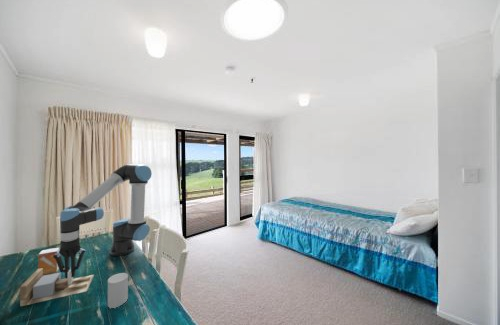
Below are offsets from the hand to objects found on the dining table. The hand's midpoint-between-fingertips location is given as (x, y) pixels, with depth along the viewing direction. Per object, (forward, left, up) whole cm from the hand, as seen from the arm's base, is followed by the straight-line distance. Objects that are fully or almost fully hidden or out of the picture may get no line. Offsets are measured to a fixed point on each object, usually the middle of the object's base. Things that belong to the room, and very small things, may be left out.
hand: (70, 283), depth 105 cm
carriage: (+9, 0, -2) cm, 9 cm away
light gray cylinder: (-24, +22, -3) cm, 32 cm away
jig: (+3, 0, -3) cm, 5 cm away
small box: (+16, -25, -3) cm, 30 cm away
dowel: (+6, 0, -2) cm, 6 cm away
